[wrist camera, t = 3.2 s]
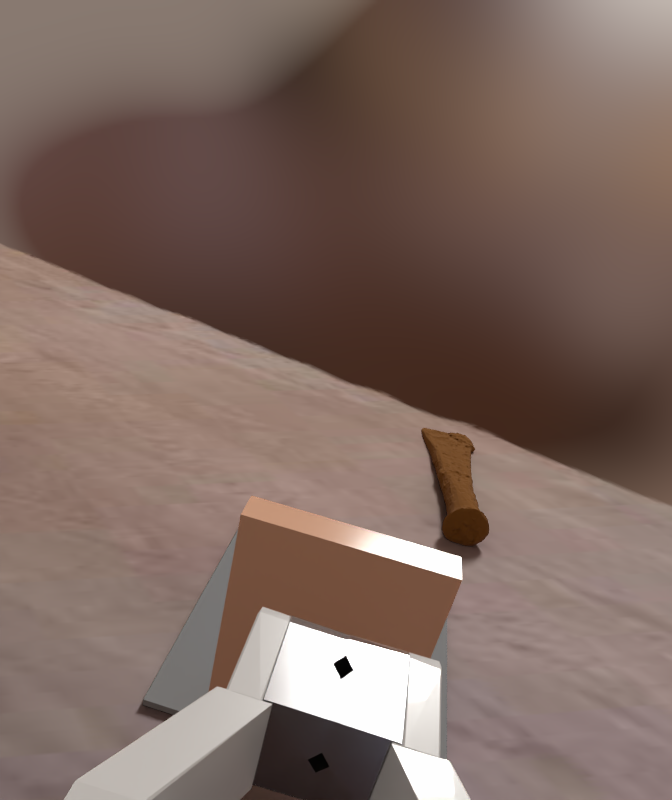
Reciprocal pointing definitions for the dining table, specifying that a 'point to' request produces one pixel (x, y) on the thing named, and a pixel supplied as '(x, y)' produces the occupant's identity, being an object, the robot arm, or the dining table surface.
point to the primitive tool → (456, 486)
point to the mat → (196, 650)
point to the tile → (332, 582)
